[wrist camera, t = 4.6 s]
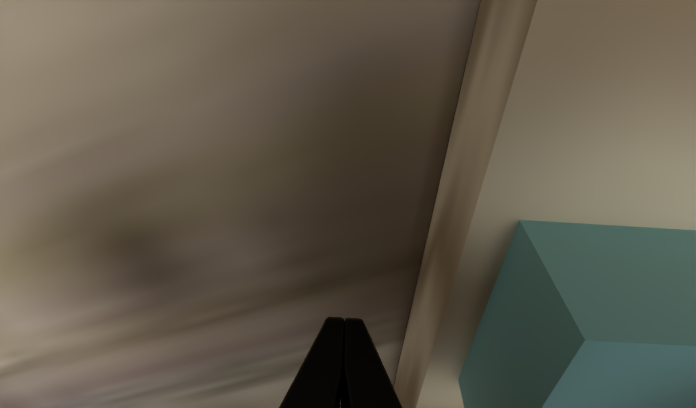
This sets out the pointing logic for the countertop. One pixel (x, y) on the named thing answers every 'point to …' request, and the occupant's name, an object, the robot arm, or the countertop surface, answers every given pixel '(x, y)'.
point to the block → (588, 321)
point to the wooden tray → (550, 155)
